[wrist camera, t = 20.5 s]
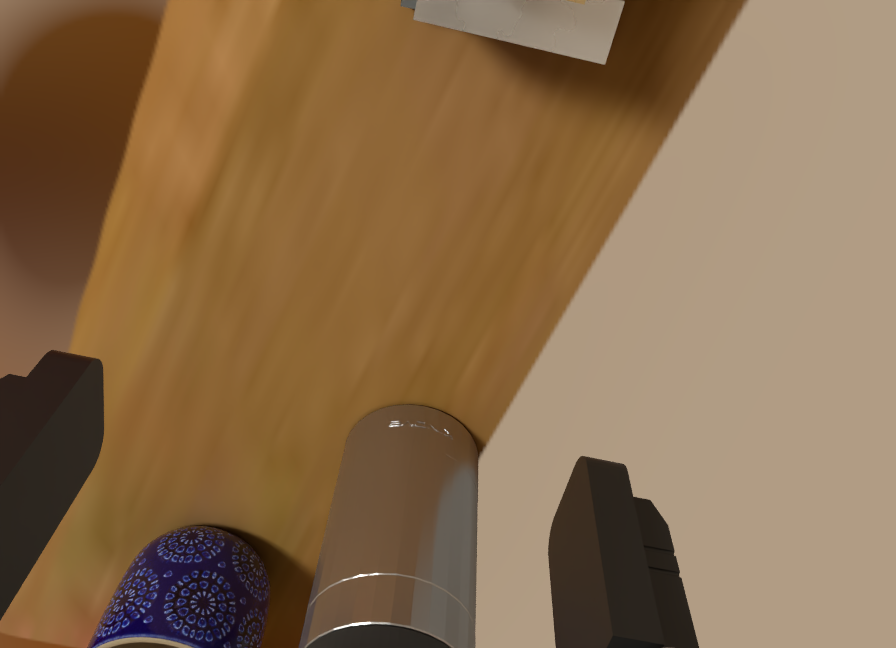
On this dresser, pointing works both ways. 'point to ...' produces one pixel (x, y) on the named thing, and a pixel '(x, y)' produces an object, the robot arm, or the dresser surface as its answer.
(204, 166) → the dresser surface
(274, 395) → the dresser surface
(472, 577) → the robot arm
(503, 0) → the vise
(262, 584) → the planter
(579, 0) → the brass block
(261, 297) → the dresser surface
